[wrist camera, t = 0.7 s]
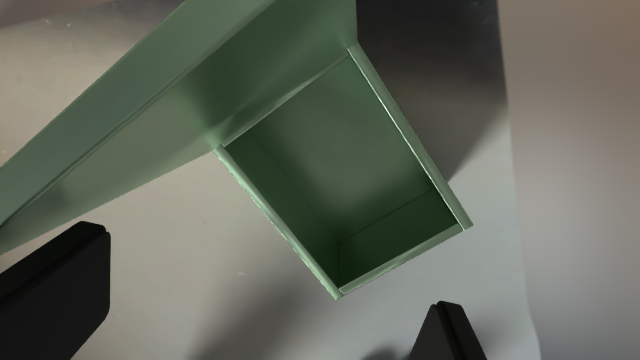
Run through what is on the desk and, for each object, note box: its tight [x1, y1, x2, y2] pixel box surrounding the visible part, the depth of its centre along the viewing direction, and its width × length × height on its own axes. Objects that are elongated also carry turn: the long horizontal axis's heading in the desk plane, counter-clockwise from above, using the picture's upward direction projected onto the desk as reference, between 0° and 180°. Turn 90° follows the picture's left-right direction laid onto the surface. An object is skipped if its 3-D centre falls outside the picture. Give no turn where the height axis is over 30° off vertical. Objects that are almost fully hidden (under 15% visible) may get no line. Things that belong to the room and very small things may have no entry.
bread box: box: [213, 42, 473, 300], centre depth 25 cm, size 13×10×7 cm
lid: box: [0, 0, 358, 255], centre depth 13 cm, size 14×10×1 cm
